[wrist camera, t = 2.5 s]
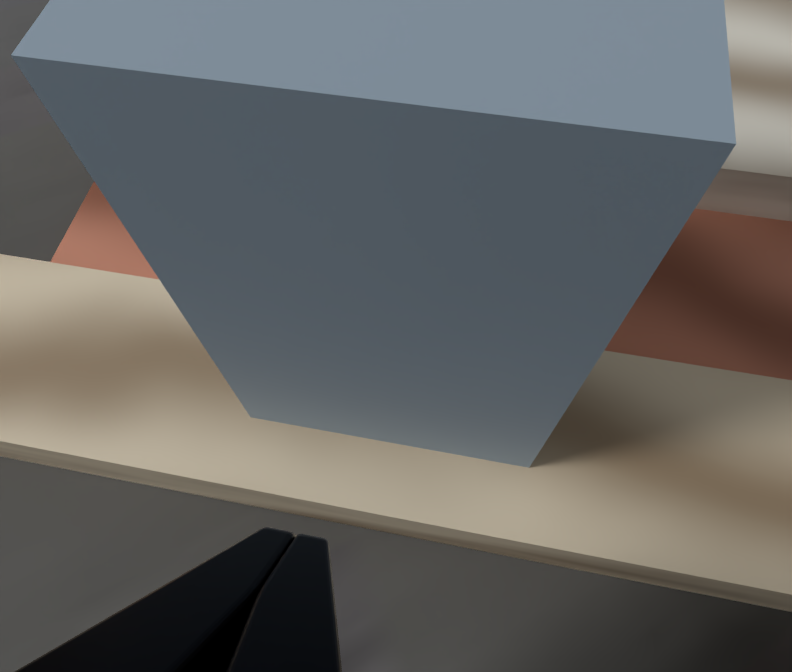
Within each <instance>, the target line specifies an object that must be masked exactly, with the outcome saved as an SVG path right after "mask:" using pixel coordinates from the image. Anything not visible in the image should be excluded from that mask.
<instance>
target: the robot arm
mask: <svg viewBox="0 0 792 672" xmlns="http://www.w3.org/2000/svg"><path fill="white" fill-rule="evenodd" d="M15 672H342V668H341V658H340V648H339V638H338V629H337V619H336V609H335V599H334V589H333V580H332V570H331V560H330V550H329V542H328V540H326V539H325V538H321V537H316V536H311V535H305V534H299V535H297V536H295V534H294V533H293V532H290V531H285V530H280V529H275V528H270V527H265V528H262V529H260V530H258V531H256V532H255V533H253V534H251V535H250V536H248V537H246V538H244V539H243V540H241V541H239V542H237V543H236V544H234V545H232V546H231V547H229V548H227V549H225V550H224V551H222V552H220V553H218V554H217V555H215V556H213V557H212V558H210V559H208V560H206V561H205V562H203V563H201V564H200V565H198V566H196V567H194V568H193V569H191V570H189V571H187V572H186V573H184V574H182V575H181V576H179V577H177V578H175V579H174V580H172V581H170V582H168V583H167V584H165V585H163V586H162V587H160V588H158V589H156V590H155V591H153V592H151V593H149V594H148V595H146V596H144V597H143V598H141V599H139V600H137V601H136V602H134V603H132V604H131V605H129V606H127V607H125V608H124V609H122V610H120V611H118V612H117V613H115V614H113V615H112V616H110V617H108V618H106V619H105V620H103V621H101V622H99V623H98V624H96V625H94V626H93V627H91V628H89V629H87V630H86V631H84V632H82V633H80V634H79V635H77V636H75V637H74V638H72V639H70V640H68V641H67V642H65V643H63V644H62V645H60V646H58V647H56V648H55V649H53V650H51V651H49V652H48V653H46V654H44V655H43V656H41V657H39V658H37V659H36V660H34V661H32V662H30V663H29V664H27V665H25V666H24V667H22V668H20V669H18V670H17V671H15Z"/></svg>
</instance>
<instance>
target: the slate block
mask: <svg viewBox="0 0 792 672" xmlns="http://www.w3.org/2000/svg"><path fill="white" fill-rule="evenodd" d="M11 56H12V58H13V59H14V61H15V62H16V64H17V65H18V67H19V68H20V70H21V71H22V73H23V74H24V76H25V77H26V79H27V80H28V82H29V83H30V85H31V86H32V88H33V89H34V91H35V92H36V94H37V95H38V97H39V98H40V100H41V101H42V103H43V104H44V106H45V108H46V109H47V111H48V112H49V114H50V115H51V117H52V118H53V120H54V121H55V123H56V124H57V126H58V127H59V129H60V130H61V132H62V133H63V135H64V136H65V138H66V139H67V141H68V142H69V144H70V145H71V147H72V148H73V150H74V151H75V153H76V154H77V156H78V157H79V159H80V160H81V162H82V163H83V165H84V166H85V168H86V169H87V171H88V172H89V174H90V176H91V177H92V179H93V180H94V182H95V183H96V185H97V186H98V188H99V189H100V191H101V192H102V194H103V195H104V197H105V198H106V200H107V201H108V203H109V204H110V206H111V207H112V209H113V210H114V212H115V213H116V215H117V216H118V218H119V219H120V221H121V222H122V224H123V225H124V227H125V228H126V230H127V231H128V233H129V234H130V236H131V237H132V239H133V240H134V242H135V244H136V245H137V247H138V248H139V250H140V251H141V253H142V254H143V256H144V257H145V259H146V260H147V262H148V263H149V265H150V266H151V268H152V269H153V271H154V272H155V274H156V275H157V277H158V278H159V280H160V281H161V283H162V284H163V286H164V287H165V289H166V290H167V292H168V293H169V295H170V296H171V298H172V299H173V301H174V302H175V304H176V305H177V307H178V308H179V310H180V312H181V313H182V315H183V316H184V318H185V319H186V321H187V322H188V324H189V325H190V327H191V328H192V330H193V331H194V333H195V334H196V336H197V337H198V339H199V340H200V342H201V343H202V345H203V346H204V348H205V349H206V351H207V352H208V354H209V355H210V357H211V358H212V360H213V361H214V363H215V364H216V366H217V367H218V369H219V370H220V372H221V373H222V375H223V377H224V378H225V380H226V381H227V383H228V384H229V386H230V387H231V389H232V390H233V392H234V393H235V395H236V396H237V398H238V399H239V401H240V402H241V404H242V405H243V407H244V408H245V410H246V411H247V413H248V414H249V416H250V417H252V418H257V419H263V420H268V421H274V422H279V423H285V424H290V425H296V426H301V427H307V428H312V429H318V430H324V431H329V432H335V433H340V434H346V435H351V436H357V437H362V438H368V439H373V440H379V441H384V442H390V443H395V444H401V445H406V446H412V447H417V448H423V449H428V450H434V451H439V452H445V453H450V454H456V455H462V456H467V457H473V458H478V459H484V460H489V461H495V462H500V463H506V464H511V465H517V466H522V467H528V468H529V467H530V466H531V464H532V462H533V461H534V459H535V458H536V456H537V455H538V453H539V452H540V450H541V448H542V447H543V445H544V444H545V442H546V441H547V439H548V437H549V436H550V434H551V433H552V431H553V430H554V428H555V427H556V425H557V423H558V422H559V420H560V419H561V417H562V416H563V414H564V412H565V411H566V409H567V408H568V406H569V405H570V403H571V402H572V400H573V398H574V397H575V395H576V394H577V392H578V391H579V389H580V387H581V386H582V384H583V383H584V381H585V380H586V378H587V377H588V375H589V373H590V372H591V370H592V369H593V367H594V366H595V364H596V362H597V361H598V359H599V358H600V356H601V355H602V353H603V351H604V350H605V348H606V347H607V345H608V344H609V342H610V341H611V339H612V337H613V336H614V334H615V333H616V331H617V330H618V328H619V326H620V325H621V323H622V322H623V320H624V319H625V317H626V316H627V314H628V312H629V311H630V309H631V308H632V306H633V305H634V303H635V301H636V300H637V298H638V297H639V295H640V294H641V292H642V291H643V289H644V287H645V286H646V284H647V283H648V281H649V280H650V278H651V276H652V275H653V273H654V272H655V270H656V269H657V267H658V265H659V264H660V262H661V261H662V259H663V258H664V256H665V255H666V253H667V251H668V250H669V248H670V247H671V245H672V244H673V242H674V240H675V239H676V237H677V236H678V234H679V233H680V231H681V230H682V228H683V226H684V225H685V223H686V222H687V220H688V219H689V217H690V215H691V214H692V212H693V211H694V209H695V208H696V206H697V205H698V203H699V201H700V200H701V198H702V197H703V195H704V194H705V192H706V190H707V189H708V187H709V186H710V184H711V183H712V181H713V179H714V178H715V176H716V175H717V173H718V172H719V170H720V169H721V167H722V165H723V164H724V162H725V161H726V159H727V158H728V156H729V154H730V153H731V151H732V150H733V148H734V147H735V145H736V135H735V123H734V111H733V100H732V88H731V76H730V64H729V52H728V41H727V29H726V17H725V5H724V0H50V1H49V3H48V4H47V5H46V7H45V8H44V10H43V11H42V12H41V14H40V15H39V17H38V18H37V19H36V21H35V22H34V24H33V25H32V26H31V28H30V29H29V31H28V32H27V33H26V35H25V36H24V38H23V39H22V40H21V42H20V43H19V45H18V46H17V47H16V49H15V50H14V52H13V53H12V54H11Z"/></svg>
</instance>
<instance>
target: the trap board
mask: <svg viewBox="0 0 792 672" xmlns="http://www.w3.org/2000/svg"><path fill="white" fill-rule="evenodd" d="M724 5H725V17H726V29H727V41H728V52H729V64H730V76H731V88H732V100H733V111H734V123H735V135H736V145H735V147H734V148H733V150H732V151H731V153H730V154H729V156H728V158H727V159H726V161H725V162H724V164H723V165H722V167H721V169H720V170H719V172H718V173H717V175H716V176H715V178H714V179H713V181H712V183H711V184H710V186H709V187H708V189H707V190H706V192H705V194H704V195H703V197H702V198H701V200H700V201H699V203H698V205H697V206H696V208H695V209H694V211H693V212H692V214H691V215H690V217H689V219H688V220H687V222H686V223H685V225H684V226H683V228H682V230H681V231H680V233H679V234H678V236H677V237H676V239H675V240H674V242H673V244H672V245H671V247H670V248H669V250H668V251H667V253H666V255H665V256H664V258H663V259H662V261H661V262H660V264H659V265H658V267H657V269H656V270H655V272H654V273H653V275H652V276H651V278H650V280H649V281H648V283H647V284H646V286H645V287H644V289H643V291H642V292H641V294H640V295H639V297H638V298H637V300H636V301H635V303H634V305H633V306H632V308H631V309H630V311H629V312H628V314H627V316H626V317H625V319H624V320H623V322H622V323H621V325H620V326H619V328H618V330H617V331H616V333H615V334H614V336H613V337H612V339H611V341H610V342H609V344H608V345H607V347H606V348H605V350H604V351H603V353H602V355H601V356H600V358H599V359H598V361H597V362H596V364H595V366H594V367H593V369H592V370H591V372H590V373H589V375H588V377H587V378H586V380H585V381H584V383H583V384H582V386H581V387H580V389H579V391H578V392H577V394H576V395H575V397H574V398H573V400H572V402H571V403H570V405H569V406H568V408H567V409H566V411H565V412H564V414H563V416H562V417H561V419H560V420H559V422H558V423H557V425H556V427H555V428H554V430H553V431H552V433H551V434H550V436H549V437H548V439H547V441H546V442H545V444H544V445H543V447H542V448H541V450H540V452H539V453H538V455H537V456H536V458H535V459H534V461H533V462H532V464H531V466H530V467H529V468H528V467H522V466H517V465H511V464H506V463H500V462H495V461H489V460H484V459H478V458H473V457H467V456H462V455H456V454H450V453H445V452H439V451H434V450H428V449H423V448H417V447H412V446H406V445H401V444H395V443H390V442H384V441H379V440H373V439H368V438H362V437H357V436H351V435H346V434H340V433H335V432H329V431H324V430H318V429H312V428H307V427H301V426H296V425H290V424H285V423H279V422H274V421H268V420H263V419H257V418H252V417H250V416H249V414H248V413H247V411H246V410H245V408H244V407H243V405H242V404H241V402H240V401H239V399H238V398H237V396H236V395H235V393H234V392H233V390H232V389H231V387H230V386H229V384H228V383H227V381H226V380H225V378H224V377H223V375H222V373H221V372H220V370H219V369H218V367H217V366H216V364H215V363H214V361H213V360H212V358H211V357H210V355H209V354H208V352H207V351H206V349H205V348H204V346H203V345H202V343H201V342H200V340H199V339H198V337H197V336H196V334H195V333H194V331H193V330H192V328H191V327H190V325H189V324H188V322H187V321H186V319H185V318H184V316H183V315H182V313H181V312H180V310H179V308H178V307H177V305H176V304H175V302H174V301H173V299H172V298H171V296H170V295H169V293H168V292H167V290H166V289H165V287H164V286H163V284H162V283H161V281H160V280H159V278H158V277H157V275H156V274H155V272H154V271H153V269H152V268H151V266H150V265H149V263H148V262H147V260H146V259H145V257H144V256H143V254H142V253H141V251H140V250H139V248H138V247H137V245H136V244H135V242H134V240H133V239H132V237H131V236H130V234H129V233H128V231H127V230H126V228H125V227H124V225H123V224H122V222H121V221H120V219H119V218H118V216H117V215H116V213H115V212H114V210H113V209H112V207H111V206H110V204H109V203H108V201H107V200H106V198H105V197H104V195H103V194H102V192H101V191H100V189H99V188H98V186H97V185H96V183H95V182H94V183H93V185H92V186H91V188H90V190H89V192H88V194H87V196H86V197H85V199H84V201H83V203H82V205H81V207H80V208H79V210H78V212H77V214H76V216H75V218H74V219H73V221H72V223H71V225H70V227H69V229H68V230H67V232H66V234H65V236H64V238H63V240H62V241H61V243H60V245H59V247H58V249H57V251H56V252H55V254H54V256H53V258H52V260H51V262H46V261H40V260H34V259H27V258H21V257H15V256H8V255H2V254H0V456H2V457H7V458H12V459H17V460H22V461H27V462H32V463H37V464H42V465H47V466H52V467H57V468H63V469H68V470H73V471H78V472H83V473H88V474H93V475H98V476H103V477H108V478H113V479H118V480H124V481H129V482H134V483H139V484H144V485H149V486H154V487H159V488H164V489H169V490H174V491H179V492H185V493H190V494H195V495H200V496H205V497H210V498H215V499H220V500H225V501H230V502H235V503H240V504H245V505H251V506H256V507H261V508H266V509H271V510H276V511H281V512H286V513H291V514H296V515H301V516H306V517H312V518H317V519H322V520H327V521H332V522H337V523H342V524H347V525H352V526H357V527H362V528H367V529H373V530H378V531H383V532H388V533H393V534H398V535H403V536H408V537H413V538H418V539H423V540H428V541H434V542H439V543H444V544H449V545H454V546H459V547H464V548H469V549H474V550H479V551H484V552H489V553H495V554H500V555H505V556H510V557H515V558H520V559H525V560H530V561H535V562H540V563H545V564H550V565H555V566H561V567H566V568H571V569H576V570H581V571H586V572H591V573H596V574H601V575H606V576H611V577H616V578H622V579H627V580H632V581H637V582H642V583H647V584H652V585H657V586H662V587H667V588H672V589H677V590H683V591H688V592H693V593H698V594H703V595H708V596H713V597H718V598H723V599H728V600H733V601H738V602H744V603H749V604H754V605H759V606H764V607H769V608H774V609H779V610H784V611H789V612H792V0H724Z"/></svg>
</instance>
